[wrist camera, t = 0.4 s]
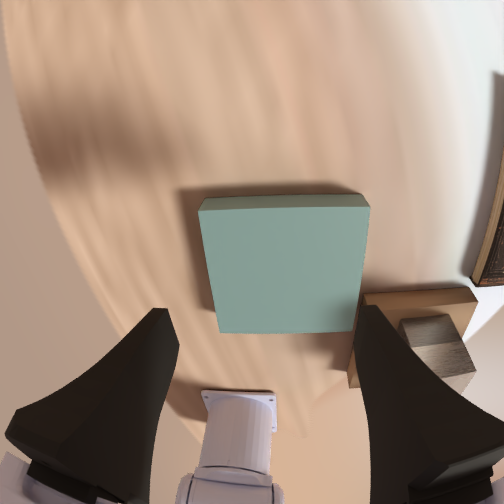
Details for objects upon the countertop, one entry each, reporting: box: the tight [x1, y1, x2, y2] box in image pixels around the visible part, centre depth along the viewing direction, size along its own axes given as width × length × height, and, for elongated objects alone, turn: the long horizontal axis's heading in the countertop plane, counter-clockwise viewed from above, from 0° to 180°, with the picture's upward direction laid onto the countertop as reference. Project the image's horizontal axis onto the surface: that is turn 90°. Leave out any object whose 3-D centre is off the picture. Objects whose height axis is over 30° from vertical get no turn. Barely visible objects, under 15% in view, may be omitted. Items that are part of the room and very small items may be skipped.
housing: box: [397, 314, 476, 395], centre depth 20 cm, size 8×4×6 cm, turn 4°
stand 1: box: [198, 194, 370, 334], centre depth 21 cm, size 10×10×2 cm
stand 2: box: [347, 287, 478, 388], centre depth 24 cm, size 10×10×2 cm
